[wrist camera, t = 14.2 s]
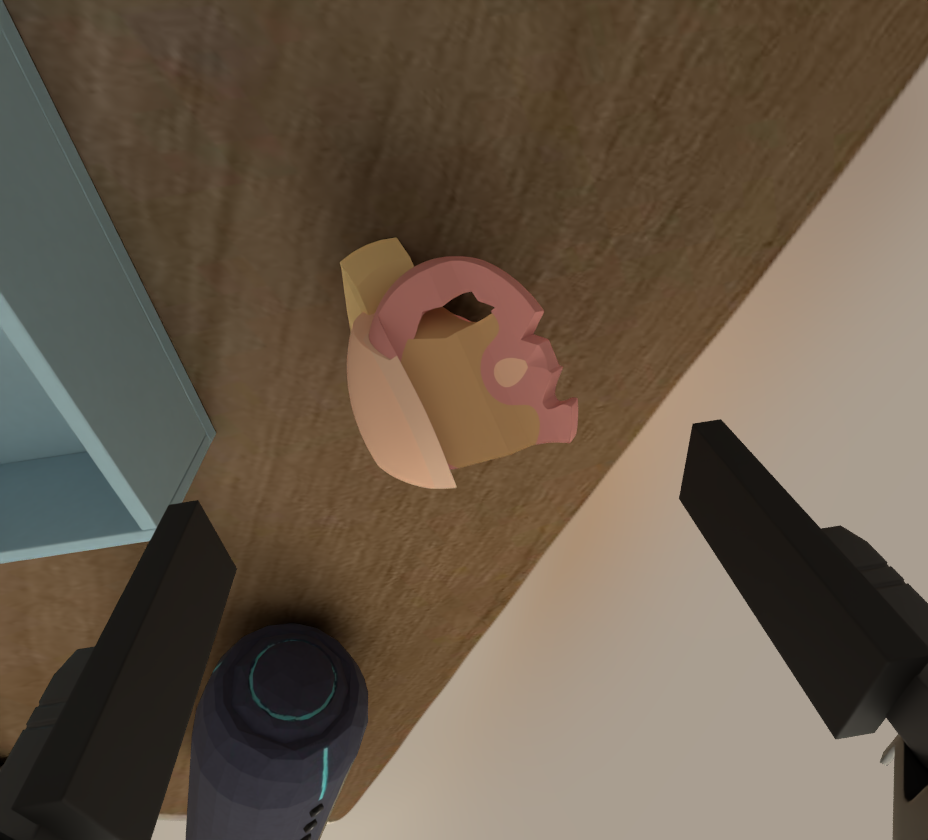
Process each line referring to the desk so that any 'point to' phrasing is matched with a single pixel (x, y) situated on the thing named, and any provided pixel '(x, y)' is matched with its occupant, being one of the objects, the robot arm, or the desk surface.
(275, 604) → the desk surface
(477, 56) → the desk surface
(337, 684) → the portable speaker
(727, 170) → the desk surface
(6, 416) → the tote
